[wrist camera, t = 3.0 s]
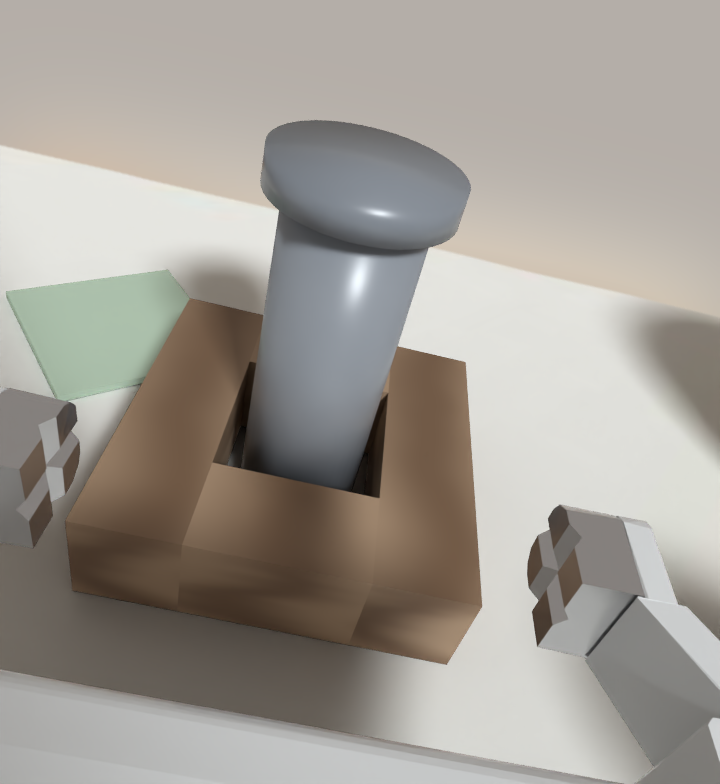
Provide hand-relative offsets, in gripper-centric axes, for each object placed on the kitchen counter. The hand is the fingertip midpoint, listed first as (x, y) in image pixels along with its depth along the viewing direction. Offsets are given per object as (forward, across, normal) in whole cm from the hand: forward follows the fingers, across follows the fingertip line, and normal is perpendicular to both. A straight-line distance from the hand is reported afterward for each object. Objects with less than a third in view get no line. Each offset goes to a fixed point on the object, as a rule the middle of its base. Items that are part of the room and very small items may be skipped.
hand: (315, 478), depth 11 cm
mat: (+21, +11, +14) cm, 28 cm away
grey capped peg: (+12, 0, +14) cm, 19 cm away
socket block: (+12, 0, +14) cm, 19 cm away
